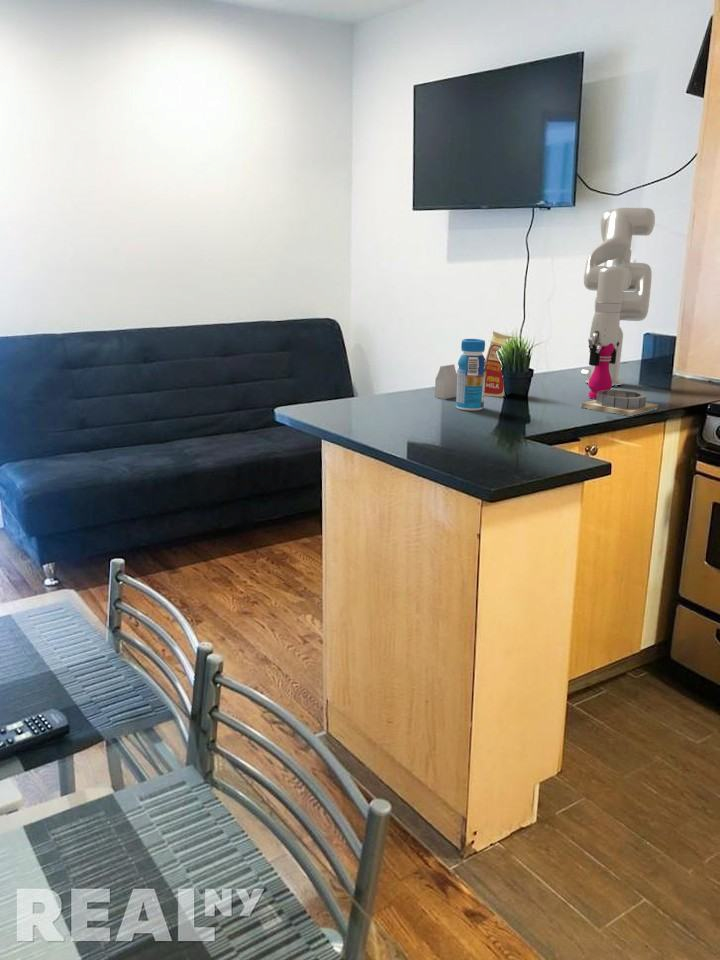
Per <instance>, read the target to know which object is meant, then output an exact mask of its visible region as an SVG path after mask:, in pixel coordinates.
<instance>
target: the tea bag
mask: <svg viewBox="0 0 720 960" xmlns="http://www.w3.org/2000/svg"><path fill="white" fill-rule="evenodd" d="M456 396H457V370H456V365H455V364H446V365H441V366H439V370H438V372H437V374H436V377H435V386H434V398H435V399H442V400H446V399H452V398H456Z"/></svg>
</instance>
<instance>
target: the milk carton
mask: <svg viewBox="0 0 720 960" xmlns="http://www.w3.org/2000/svg"><path fill="white" fill-rule="evenodd" d="M510 338H514V339H515V338H516V337H515V336H512V335H511V336H510V335H506V334H502V333H499V332H497V331H494V330H493V331H492V337H491V341H490V344H489V347H488V350H487V355H486V356H485V360H486V366H485V370H486V377H485V390H484V397H495V398H496V397H497V398H498V397H499V398H504V397H503V396H504V383H503V377H502V370H501V364H500V362H499V360H498V358H497V354H496V351H497V350H499V349H500V348H501V346H502V345H503V343H504V341H505V340H506V339H510Z"/></svg>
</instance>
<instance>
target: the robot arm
mask: <svg viewBox="0 0 720 960" xmlns="http://www.w3.org/2000/svg"><path fill="white" fill-rule="evenodd" d="M655 215H656V214H655V213H654V210H653V209H651V208H649V207H618V208H614V209H609V210H607V211H605V212H604V213H603V214H602V215H601V219H600V233H601V234H600V235H601V238H602V243H600V244H599V245H598V246H597V247H596V248H595V249H594V250H592V252H591V253H590V254H589V256H588V257H587V259H586V263H585V268H584V275H583V285H584V287H585V289H587V290H588V291H596V297H595V300H594V314H593V318H592V322H591V326H590V331H589V338H588V340H587V341H588V348H589V351H588V352H589V360H588V365H589V366H590V369H585V368H583V369H581V373H580V374H581V376H586V378H585V379H584V380H585V381H584V383H585V382H587V383H589V380H590V377H591V375H592V374H593V371H594V369H595V366H599V360H600V353H599V351H600V349H601V347H602V346H608V345H609V344H611V343H612V344H613V345H614V351H613V353H612V354H611V355H610V356H611V361H610V362H609V372H610V376H611V379H612V385H616V384H621V383H622V384H623V383H624V382H623V380H620V379H619V376H620V368H621V367H620V366H621V360H622V359H621V358H622V348H623V339H624V332H623V329H622V327H621V326H620V323H621V322H620V321H625V322H626V321H627V322H628V321H629V322H631V321H632V322H640V321H643V320H645V319H646V318H647V315H648V313H649V307H650V298H651V289H652V288H651V287H652V275H653V274H652V268H651V266H650V265H649V264H648V263H644V262H631V259H632V258H631V257H632V250H631V248H632V247H631V246H632V241H633V240H632V238H633V236H645V237H646V236H650V235H651V234H652V232H653V230H654V228H655V224H656V223H655V222H656V216H655ZM602 264H603V265H602ZM596 346H597V347H596ZM587 383H586V384H587Z"/></svg>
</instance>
